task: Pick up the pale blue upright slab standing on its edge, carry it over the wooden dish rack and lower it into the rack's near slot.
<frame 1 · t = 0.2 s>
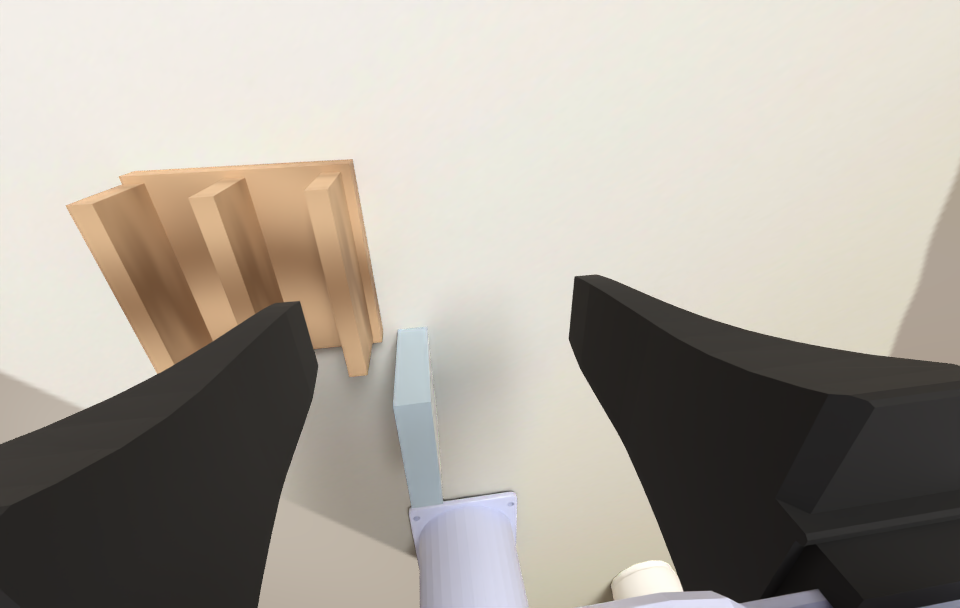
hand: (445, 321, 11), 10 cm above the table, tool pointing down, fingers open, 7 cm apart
foam cup: (640, 576, 40), on the table
rack: (276, 262, 19), on the table
pale blue upright slab: (419, 377, 24), on the table
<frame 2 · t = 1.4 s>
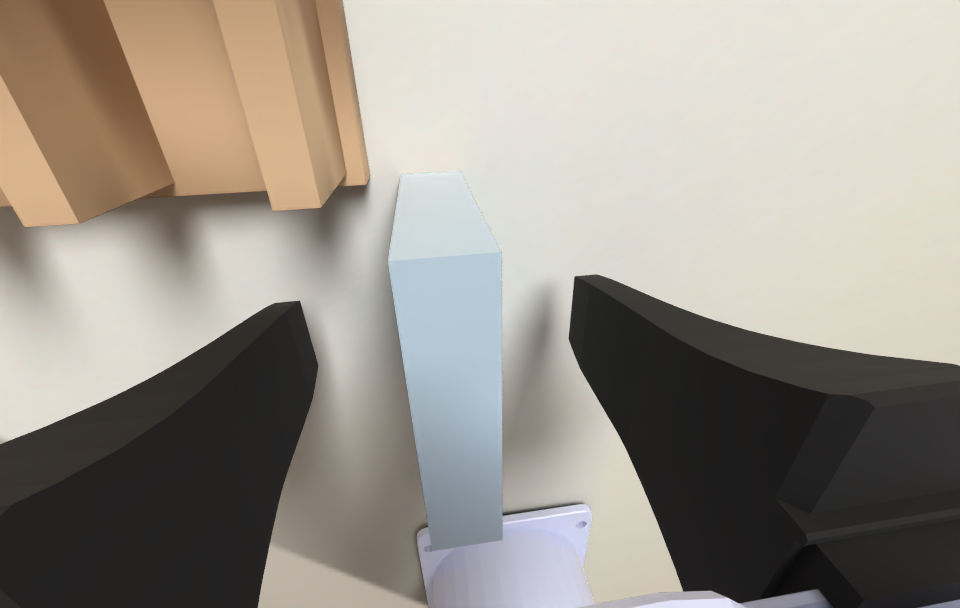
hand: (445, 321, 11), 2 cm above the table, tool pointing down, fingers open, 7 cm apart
pale blue upright slab: (441, 287, 13), on the table
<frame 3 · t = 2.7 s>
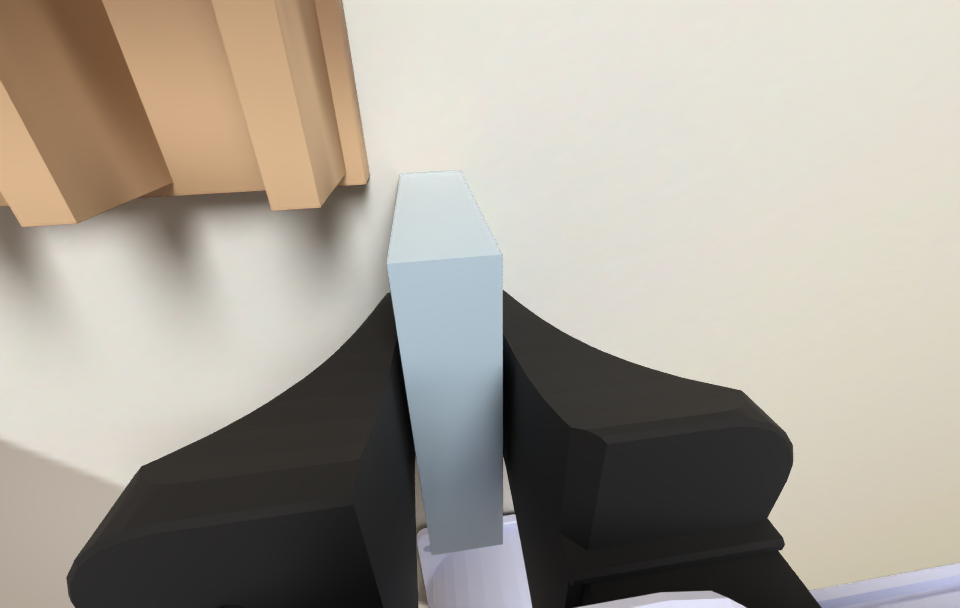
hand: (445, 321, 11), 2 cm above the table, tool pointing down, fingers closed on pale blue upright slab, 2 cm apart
pale blue upright slab: (440, 288, 12), on the table, touching gripper
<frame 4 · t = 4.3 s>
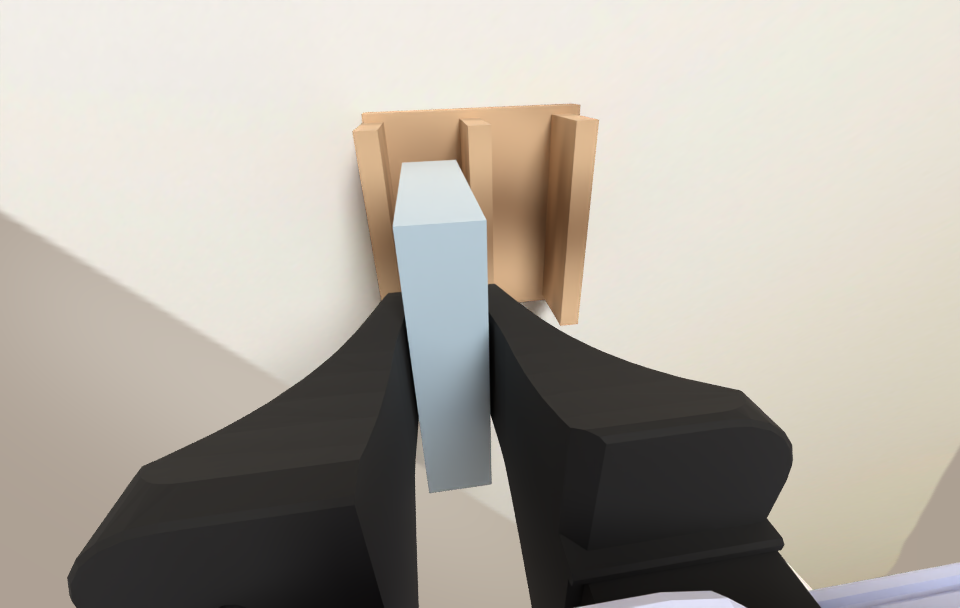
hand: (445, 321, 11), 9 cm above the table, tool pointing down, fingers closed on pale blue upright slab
rack: (474, 213, 19), on the table
pale blue upright slab: (438, 268, 14), point 6 cm above the table, touching gripper
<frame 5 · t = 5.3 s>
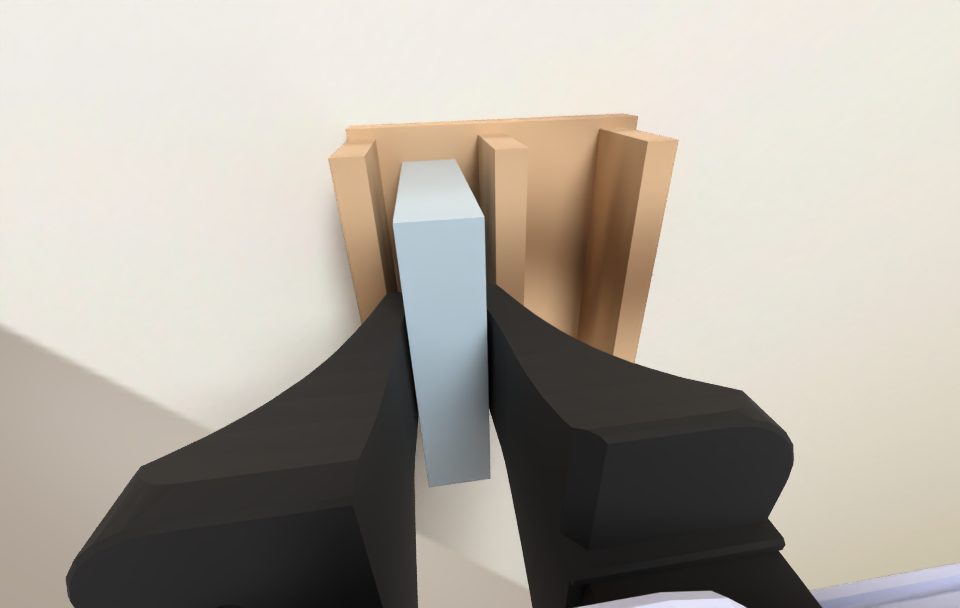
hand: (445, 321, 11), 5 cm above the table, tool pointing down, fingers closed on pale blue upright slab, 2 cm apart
rack: (493, 251, 15), on the table
pale blue upright slab: (438, 266, 14), point 1 cm above the table, touching gripper, rack
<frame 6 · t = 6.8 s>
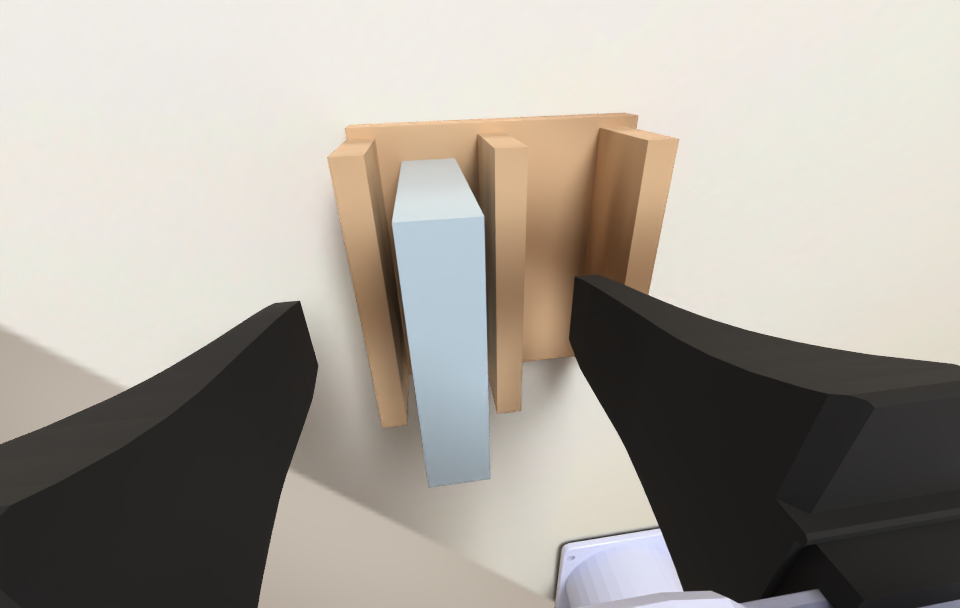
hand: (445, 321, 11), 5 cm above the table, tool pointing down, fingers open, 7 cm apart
rack: (493, 251, 15), on the table
pale blue upright slab: (437, 265, 14), point 1 cm above the table, touching rack
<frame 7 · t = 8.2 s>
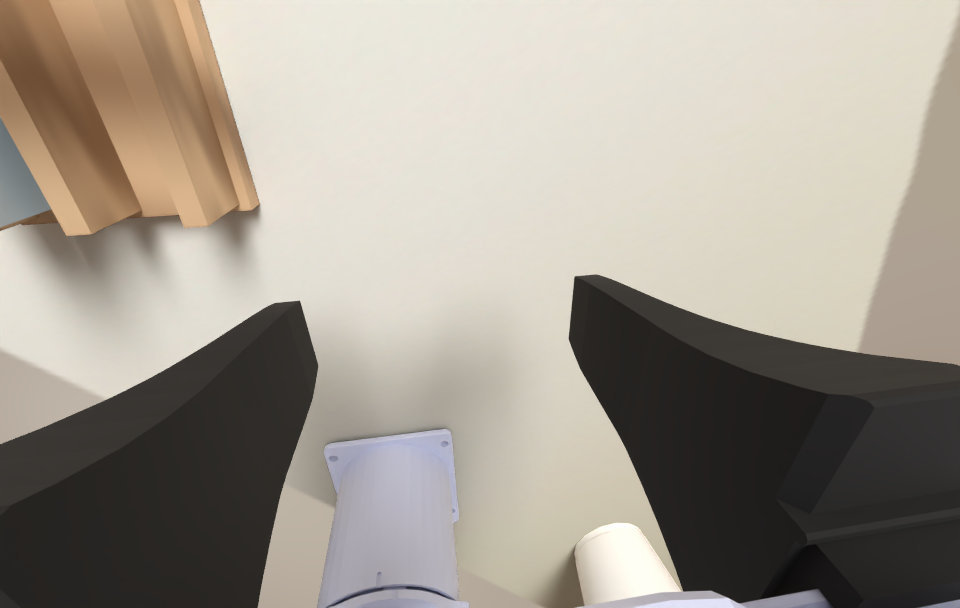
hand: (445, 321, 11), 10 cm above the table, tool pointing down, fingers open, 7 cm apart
foam cup: (607, 542, 36), on the table
rack: (103, 94, 15), on the table
pale blue upright slab: (18, 96, 14), point 1 cm above the table, touching rack
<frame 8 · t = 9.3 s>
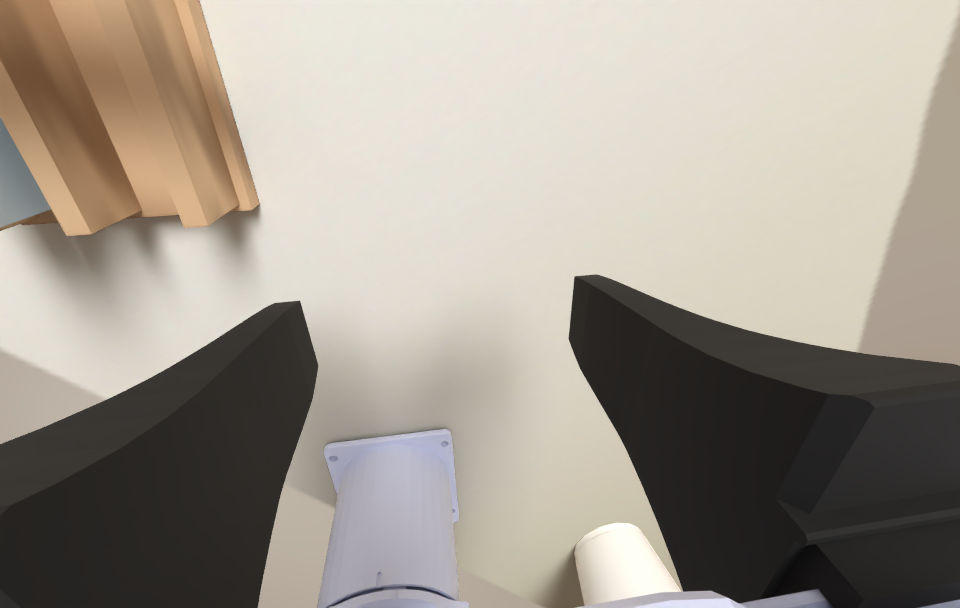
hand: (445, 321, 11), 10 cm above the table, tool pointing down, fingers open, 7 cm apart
foam cup: (607, 542, 36), on the table
rack: (103, 94, 15), on the table
pale blue upright slab: (18, 96, 14), point 1 cm above the table, touching rack
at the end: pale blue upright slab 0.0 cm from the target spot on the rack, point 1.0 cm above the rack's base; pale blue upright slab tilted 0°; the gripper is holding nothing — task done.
